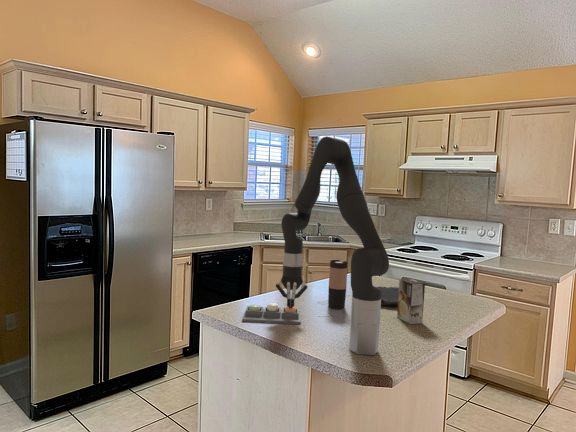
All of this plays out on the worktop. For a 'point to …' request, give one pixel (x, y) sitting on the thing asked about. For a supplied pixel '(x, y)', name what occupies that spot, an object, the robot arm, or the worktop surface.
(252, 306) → the sage button
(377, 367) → the worktop surface
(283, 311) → the button panel
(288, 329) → the worktop surface
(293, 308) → the terracotta button
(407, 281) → the coffee box
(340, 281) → the travel mug
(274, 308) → the cream button
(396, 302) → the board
